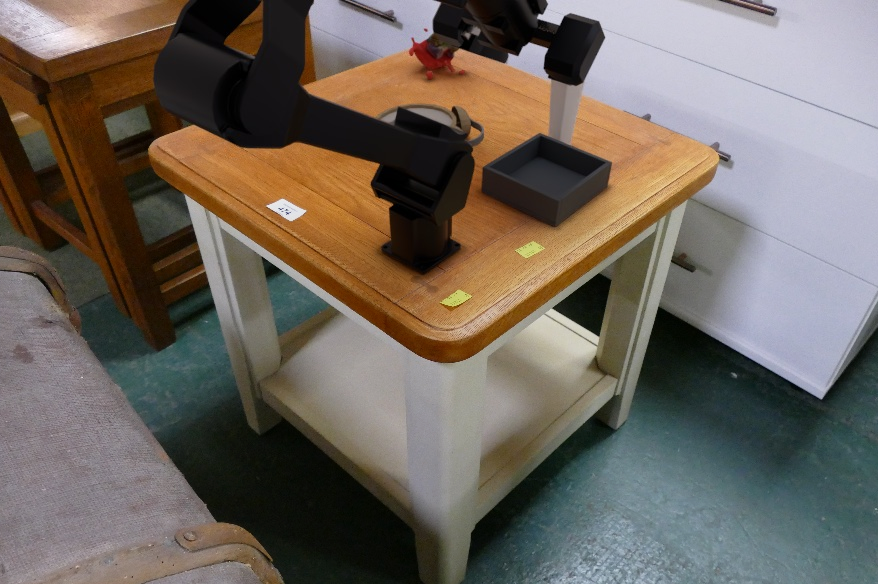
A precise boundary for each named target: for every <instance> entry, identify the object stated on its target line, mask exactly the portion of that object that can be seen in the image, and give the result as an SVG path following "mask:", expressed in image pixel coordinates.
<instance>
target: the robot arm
mask: <svg viewBox="0 0 878 584" xmlns="http://www.w3.org/2000/svg"><path fill="white" fill-rule="evenodd" d="M314 1H315V0H188V1H187V2H186V3H185V4H184V5H183V7H182V8H181V9H180V12H179V14H178V17H177V19H176V20H175V23H174V26H173V28H172V30H171V33H170V35H169V38H168V39H167V42H166V44H165V45H164V46H163V47H162V49H161V50H160V51H159V52H158V55H157V57H156V60H155V62H154V64H153V76H152V83H153V87H154V92H155V95H156V96H157V99H158V100H159V103H160V106H161V108H162V109H164V111H165V112H167V113H168V114H170V115H173V116H174V117H176V118H179V119H181V120H182V121H185V122H187V123H189V124H191V125H193V126H195V127H196V128H197V127H198V128H200V129H201V130H202V131H203V130H204V131H205V132H208V133H209V134H212V135H213V136H216V137H218V138H220V139H222V140H224V141H226V142H228V143H230V144H233V145H235V146H237V147H239V148H242V149H257V150H258V149H259V150H261V149H262V150H263V149H264V150H267V149H270V150H282V149H284V148H286V147H288V146H290V145H292V144H303V145H307V146H311V147H315V148H319V149H321V150H326V151H329V152H333V153H337V154H339V155H340V154H341V155H345V156H349V157H351V158H356V159H358V160H359V159H360V160H362V161H367V162H371V163H374V164H378V166H377V168H376V171H375V173H374V174H373V177H372V179H371V181H370V188H371V189H372V193H373V195H374V196H375V198H377V199H382V200H384V201H385V202H387V203H390V204H392V205H391V206H389V207H388V214H389V215H388V217H389V218H388V219H389V234H390V235H389V236H390V240H388V241H387V242H386V243H384V244H382V245H381V247H380V251H381V252H382V253H383V254H385V255H387V256H388V257H390V258H392V259H394V260H395V261H398V262H399V263H400V264H403V265H404V266H407V267H408V268H410V269H412V270H413V271H415V272H416V273H419V274H420V275H425V274H427V273H429V272H431V271H432V270H433V269H435V268H436V267H437V266H439V265H440V264H442V263H443V262H445V261H447V259H449V258H451V257H453V255H456V253H458V252H459V251H460V250H462V244H461V243H460V242H458V241H456V240H455V239H453V238H451V237H452V235H453V217H455V215H456V214H458V213H460V212H461V211H463V210H464V209H465V208H466V206H467V201H468V197H469V193H470V189H471V186H472V182H473V177H474V173H475V167H476V160H475V157H474V155H473V154H472V153H473V152H474V147H472V145H471V143H469V142H468V141H469V140H467V139H466V137H467V136H468V133H466V132H463V131H460V130H458V129H455V128H453V127H450V126H448V125H445V124H443V123H440V122H438V121H435V120H433V119H430V118H428V117H425V116H422V115H420V114H417V113H415V112H412V111H409V110H407V109H404V108H402V107H399V106H400V105H397V106H398V109H397V113H396V118H395V120H393V121H392V122H386V121H383V120H380V119H378V118H375V117H376V116H372V115H370V114H367V113H364V112H362V111H358V110H356V109H353V108H350V107H347V106H344V105H342V104H339V103H336V102H334V101H331V100H328V99H326V98H323V97H320V96H317V95H315V94H312V93H310V92H309V91H308V90H307V89H306V88H305V87H304V86H303V85H302V84H301V83H300V80H301V77H302V75H303V73H304V71H305V67H306V19H307V17H308V14H309V13H310V10H311V8H312V6H313V3H314ZM433 1H434V2H437V3H439V6H438V7H437V9H436V11H435V14H434V16H433V18H432V19H431V20H432V22H431V23H432V25H431V26H432V34H433V33H434V34H435V35H436V36H437V37H438V39H439V40H440V41H442V42H445V43H448V44H451V46H453V47H456V48H459V50H462V51H465V52H469V53H471V54H474V55H477V56H481V57H483V58H486V59H489V60H492V61H495V62H498V63H501V64H506V63H507V61H508V59H509V57H510V56H509V54H510V55H512V56H516V57H519V56H520V54H521V52H522V50H523V48H524V47H526V46H527V45H528V44H533V45H535V46H539V47H542V48H544V49H547V50H546V52H545V55H544V59H543V70H544V72H545V74H546V75H547V79H549V80H551V79H552V80H555V81H558V82H561V83H564V84H567V85H570V86H572V85H574V86H578V85H580V84H582V83H583V82H584V80H585V81H586V78H587V76H588V74H589V72H590V70H591V68H592V66H593V64H594V62H595V60H596V58H597V57H598V56H597V55H598V54H599V52H600V50H601V47H602V46H603V44H604V41H605V40H606V35H605V32H604V30H603V27H602V24H601V21H599V20H596V19H593V18H590V17H586V16H583V15H580V14H579V15H578V14H575V13H573V12H570V13H567V14H565V15H563V18H562V19H561V21H560V23H559V24H557V23H554V22H550V21H547V20H544V19H541V18H540V19H539V15H541V16H543V15H544V14H545V12H546V10H547V8H548V5H549V2H548V1H547V0H433ZM260 4H262V32H261V33H262V34H261V35H262V37H261V43H260V45H259V46H258V48H257V49H258V50H257V52H256V53H255V56H254V55H252V54H248V53H247V52H245V51H241V50H240V49H237V48H234V47H232V46H229V45H227V44H225V43H226V39H227V38H228V37H229V36H230V35H231V34H232V33H233V32H235V30H237V28H239V26H241V25H242V24H243V23H244V21H246V20H247V18H249V17H250V16H251V15H252V14H253V13H254V12H255V11H256V10H257V9H258V8H259V6H260ZM468 137H469V136H468ZM465 139H466V140H465Z"/></svg>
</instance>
